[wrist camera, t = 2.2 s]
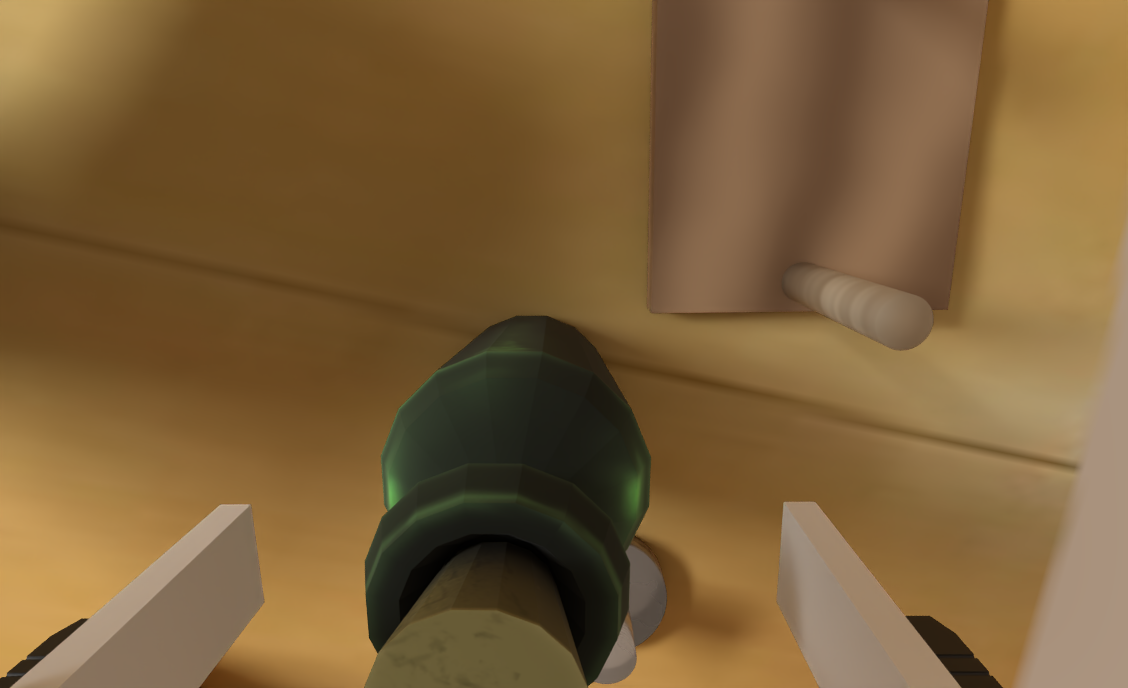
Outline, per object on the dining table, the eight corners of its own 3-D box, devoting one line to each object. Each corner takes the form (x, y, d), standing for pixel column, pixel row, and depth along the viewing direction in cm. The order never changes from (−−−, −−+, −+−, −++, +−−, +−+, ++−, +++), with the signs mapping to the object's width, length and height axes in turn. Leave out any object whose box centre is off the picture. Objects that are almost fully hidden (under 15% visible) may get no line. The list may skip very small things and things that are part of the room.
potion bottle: (406, 408, 28) (152, 759, 11) (505, 257, 27) (390, 386, 9) (557, 501, 30) (544, 957, 12) (661, 361, 28) (819, 652, 10)
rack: (646, 306, 27) (687, 366, 18) (653, -89, 24) (709, -267, 14) (927, 302, 27) (1112, 361, 18) (976, -95, 24) (1238, -277, 14)
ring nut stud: (539, 638, 31) (534, 721, 26) (536, 528, 30) (530, 594, 25) (661, 637, 31) (679, 719, 26) (664, 526, 30) (683, 593, 25)
